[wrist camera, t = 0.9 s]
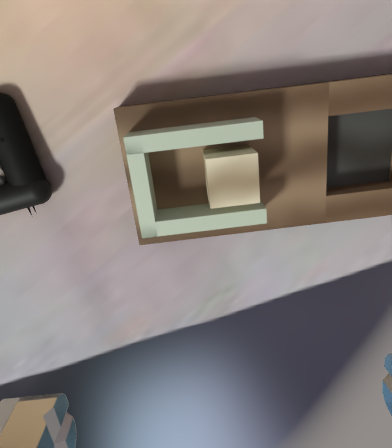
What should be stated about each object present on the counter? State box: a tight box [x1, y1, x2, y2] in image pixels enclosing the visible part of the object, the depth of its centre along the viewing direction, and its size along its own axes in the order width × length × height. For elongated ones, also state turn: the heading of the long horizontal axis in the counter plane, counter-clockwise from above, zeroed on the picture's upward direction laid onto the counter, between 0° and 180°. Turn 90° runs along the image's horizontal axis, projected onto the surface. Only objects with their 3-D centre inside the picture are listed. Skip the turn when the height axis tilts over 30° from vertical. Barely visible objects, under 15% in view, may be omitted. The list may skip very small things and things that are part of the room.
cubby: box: [123, 117, 267, 238], centre depth 33 cm, size 10×12×4 cm
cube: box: [202, 145, 260, 209], centre depth 33 cm, size 4×4×4 cm
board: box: [114, 73, 392, 245], centre depth 36 cm, size 14×36×3 cm, turn 96°
